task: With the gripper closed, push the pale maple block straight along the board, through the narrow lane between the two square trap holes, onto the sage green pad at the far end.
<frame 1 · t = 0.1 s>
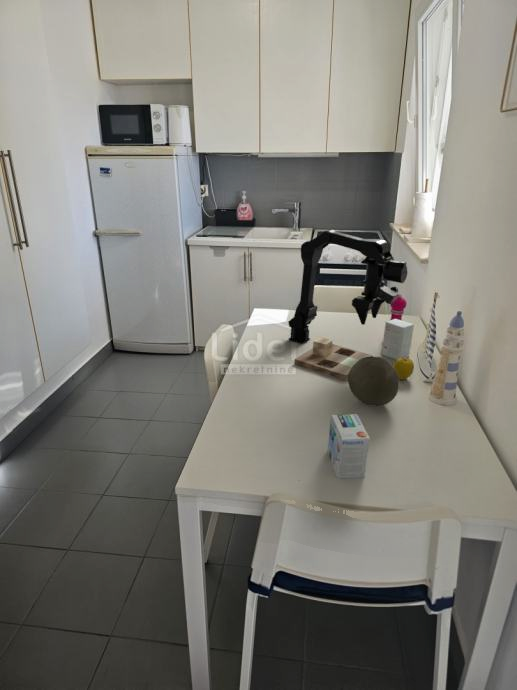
hand: (368, 321, 159), 15 cm above the table, tool pointing down, fingers open, 9 cm apart
maple block: (321, 353, 163), point 2 cm above the table, touching trap board
pepper mill: (392, 341, 181), on the table
apple: (401, 379, 151), on the table
light bulb box: (345, 464, 108), on the table
cantaloupe: (370, 405, 134), on the table
trap board: (333, 362, 162), on the table
small box: (394, 356, 168), on the table
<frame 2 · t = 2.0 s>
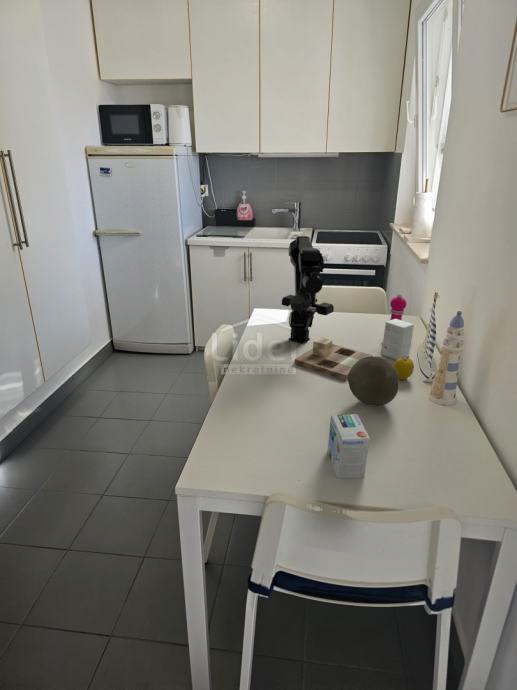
hand: (305, 327, 164), 10 cm above the table, tool pointing down, fingers closed
nothing on the table moved.
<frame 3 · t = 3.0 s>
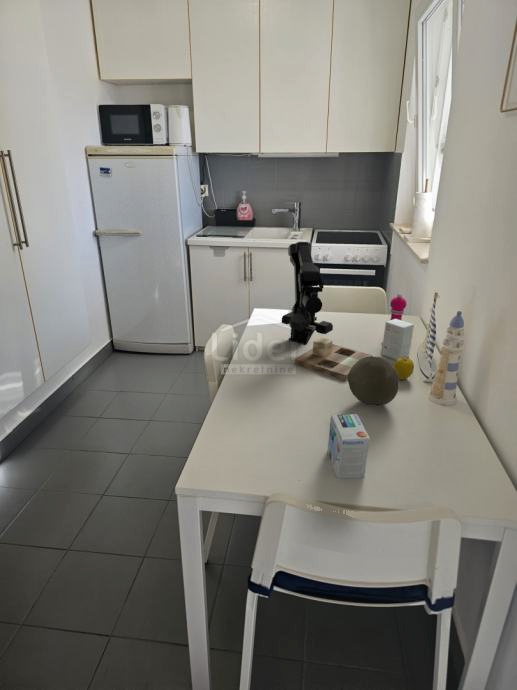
hand: (305, 344, 167), 4 cm above the table, tool pointing down, fingers closed
nothing on the table moved.
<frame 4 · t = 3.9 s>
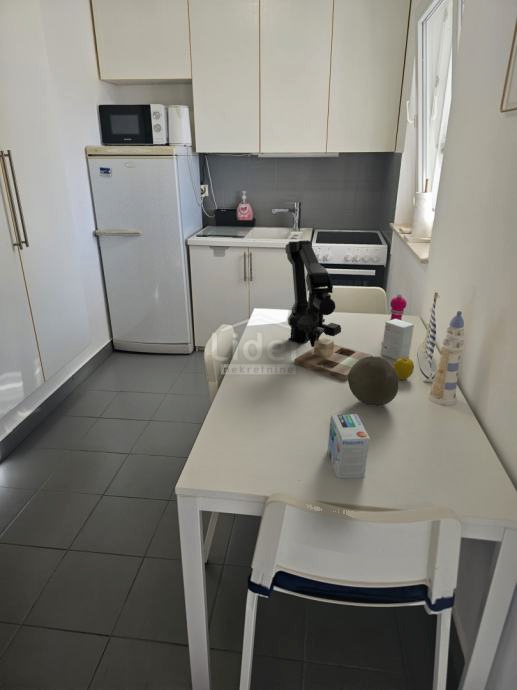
hand: (312, 346, 165), 4 cm above the table, tool pointing down, fingers closed
maple block: (323, 353, 163), point 2 cm above the table, touching gripper
everything else where it was.
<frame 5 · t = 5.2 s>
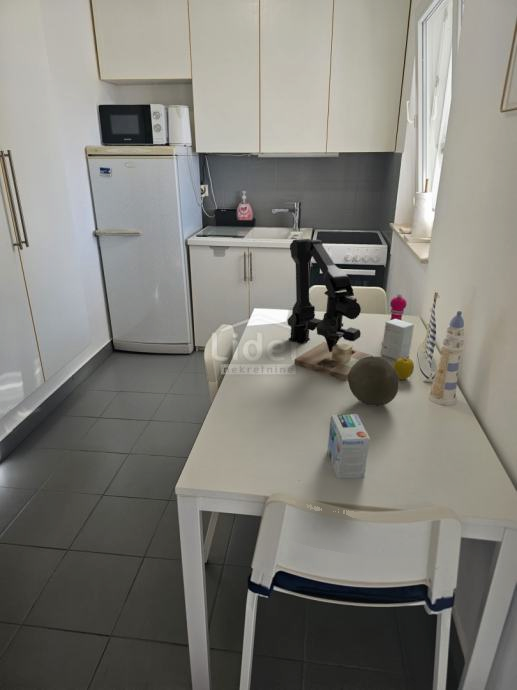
hand: (330, 351, 161), 4 cm above the table, tool pointing down, fingers closed
maple block: (341, 359, 159), point 2 cm above the table, touching gripper
everything else where it was.
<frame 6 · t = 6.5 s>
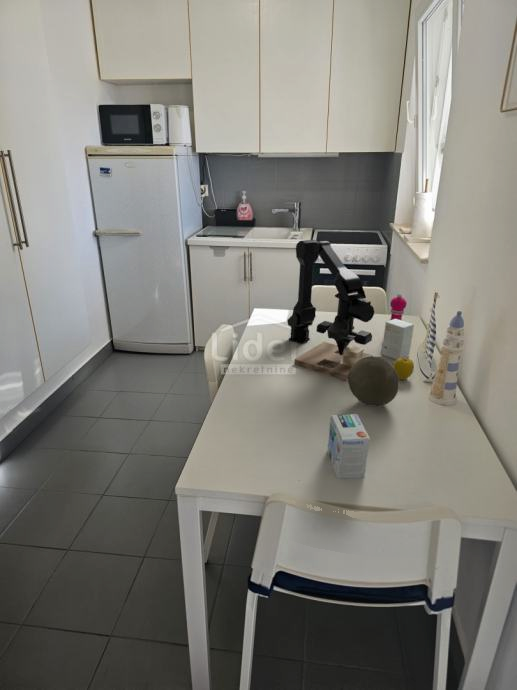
hand: (341, 354, 159), 4 cm above the table, tool pointing down, fingers closed
maple block: (352, 362, 157), point 2 cm above the table, touching gripper, trap board
everything else where it was.
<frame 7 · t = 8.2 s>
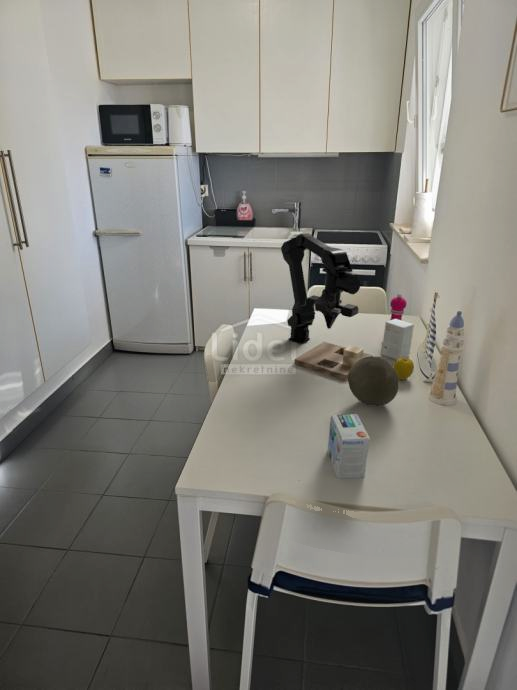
hand: (329, 328, 163), 11 cm above the table, tool pointing down, fingers closed
maple block: (352, 362, 157), point 2 cm above the table, touching trap board
everything else where it was.
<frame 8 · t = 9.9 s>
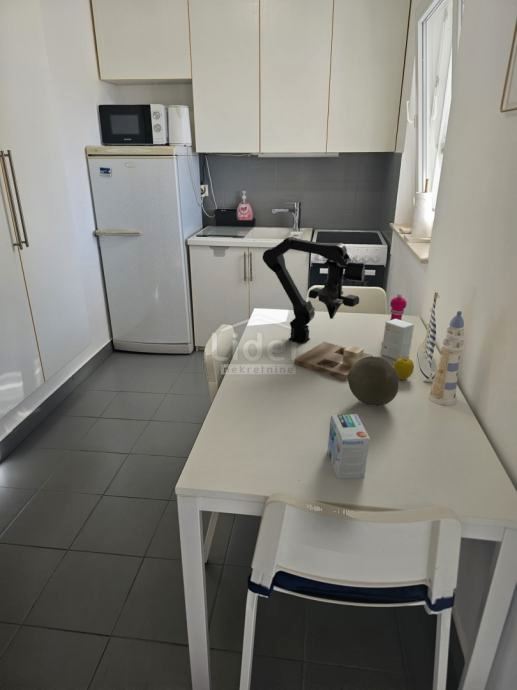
hand: (331, 318, 172), 11 cm above the table, tool pointing down, fingers closed
nothing on the table moved.
at the end: maple block 0.8 cm from the target spot on the trap board, point 2.0 cm above the trap board's base; maple block tilted 0° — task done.
